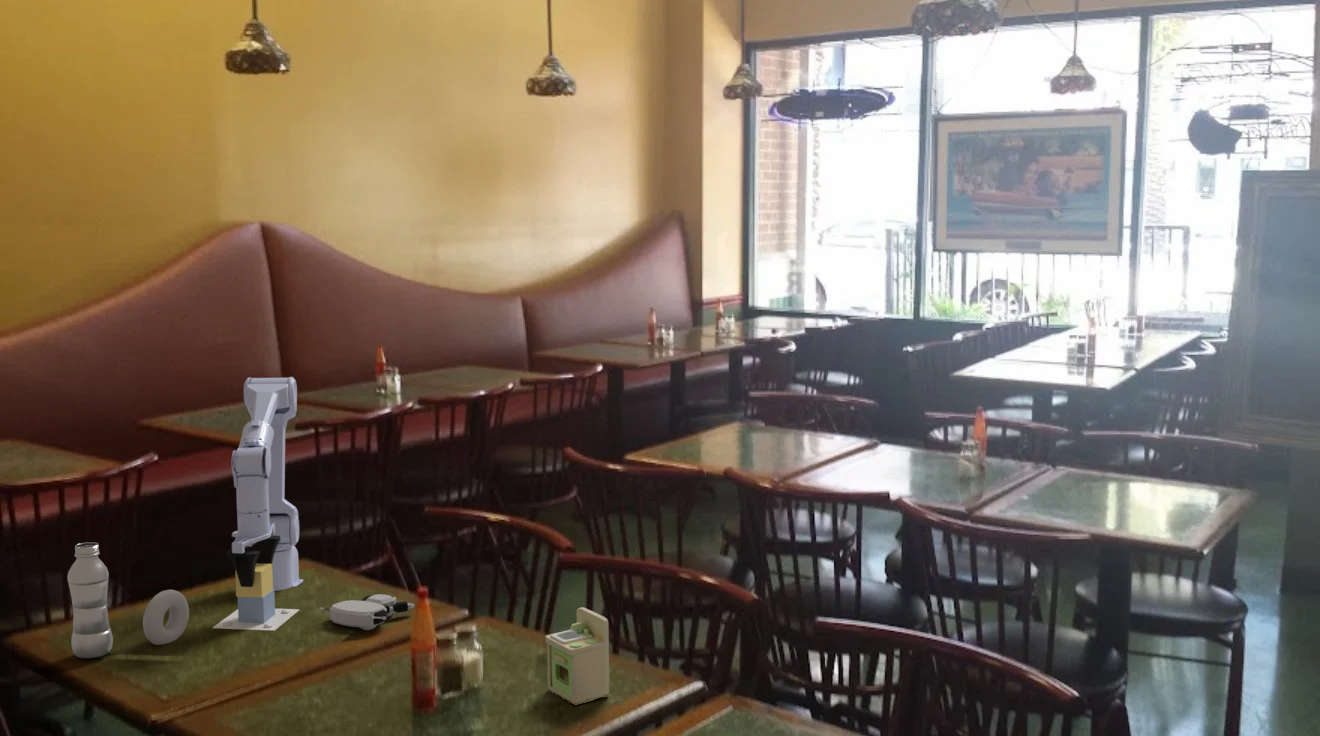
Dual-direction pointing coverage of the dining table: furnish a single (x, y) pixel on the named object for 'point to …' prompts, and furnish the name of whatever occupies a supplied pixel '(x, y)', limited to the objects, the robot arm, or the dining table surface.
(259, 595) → the mustard block
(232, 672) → the dining table surface
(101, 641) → the plastic bottle
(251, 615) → the slate block
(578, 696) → the toy sink
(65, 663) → the dining table surface
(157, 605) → the donut
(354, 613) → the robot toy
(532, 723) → the dining table surface
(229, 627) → the plate
